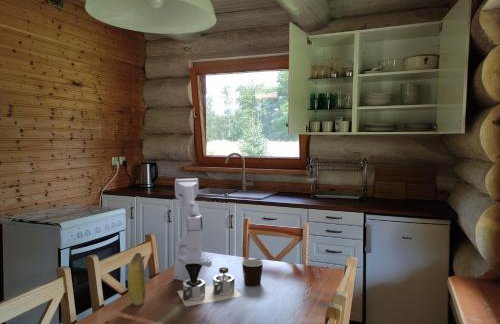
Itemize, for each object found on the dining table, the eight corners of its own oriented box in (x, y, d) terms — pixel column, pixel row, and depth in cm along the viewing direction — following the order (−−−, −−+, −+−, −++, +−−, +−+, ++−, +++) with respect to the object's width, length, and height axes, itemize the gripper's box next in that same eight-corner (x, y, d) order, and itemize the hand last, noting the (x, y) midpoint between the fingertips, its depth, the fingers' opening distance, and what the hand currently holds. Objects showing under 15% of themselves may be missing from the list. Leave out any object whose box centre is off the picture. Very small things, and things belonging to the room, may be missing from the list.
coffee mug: (260, 291, 153) (261, 267, 152) (240, 289, 155) (240, 265, 154) (265, 280, 164) (265, 257, 163) (246, 278, 166) (246, 256, 165)
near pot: (174, 301, 142) (174, 287, 141) (191, 290, 151) (190, 276, 151) (193, 305, 138) (193, 291, 138) (209, 294, 148) (209, 280, 147)
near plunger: (185, 294, 144) (185, 283, 144) (192, 289, 149) (192, 278, 148) (196, 296, 142) (195, 285, 142) (202, 291, 147) (202, 280, 146)
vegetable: (134, 311, 135) (132, 256, 134) (124, 306, 140) (123, 252, 138) (148, 305, 140) (147, 252, 138) (138, 300, 144) (137, 249, 142)
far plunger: (215, 281, 149) (215, 270, 149) (221, 276, 153) (221, 266, 153) (226, 283, 147) (226, 272, 147) (231, 279, 151) (231, 268, 151)
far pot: (205, 295, 146) (205, 282, 146) (219, 285, 156) (219, 272, 156) (225, 299, 143) (225, 285, 142) (237, 289, 153) (237, 275, 152)
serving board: (185, 308, 137) (185, 306, 137) (177, 293, 150) (177, 291, 150) (241, 298, 146) (241, 296, 146) (229, 284, 159) (229, 282, 159)
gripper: (171, 247, 143) (172, 282, 145) (204, 253, 137) (204, 289, 139) (182, 242, 150) (182, 276, 151) (214, 247, 144) (214, 282, 145)
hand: (194, 282), depth 145 cm, fingers closed, pressing on near plunger
